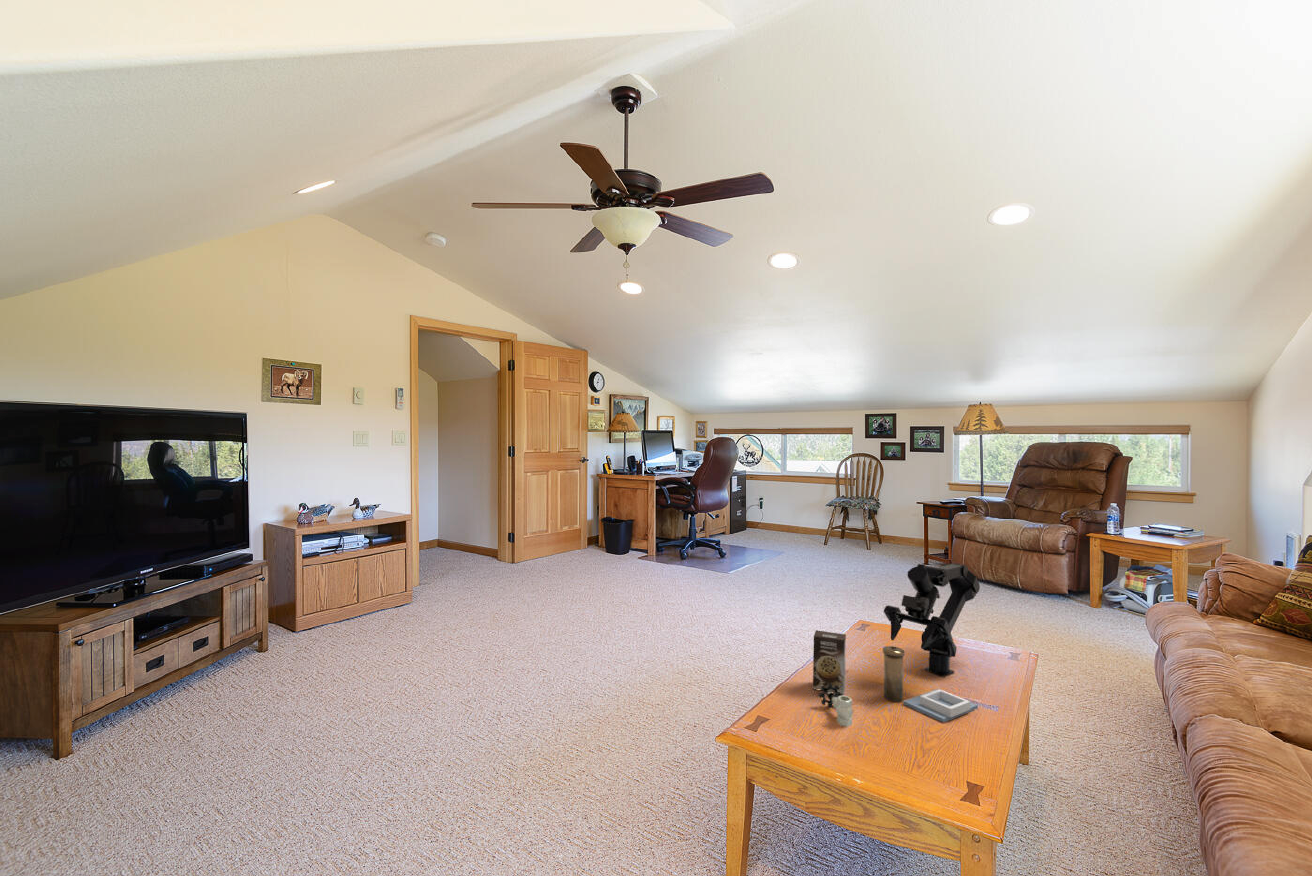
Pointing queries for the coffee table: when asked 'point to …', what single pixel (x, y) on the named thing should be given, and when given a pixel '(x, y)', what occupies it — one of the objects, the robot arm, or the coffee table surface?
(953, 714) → the collar plate
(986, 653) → the coffee table surface
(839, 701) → the valve
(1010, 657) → the coffee table surface
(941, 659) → the robot arm
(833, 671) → the cookie box
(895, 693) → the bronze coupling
